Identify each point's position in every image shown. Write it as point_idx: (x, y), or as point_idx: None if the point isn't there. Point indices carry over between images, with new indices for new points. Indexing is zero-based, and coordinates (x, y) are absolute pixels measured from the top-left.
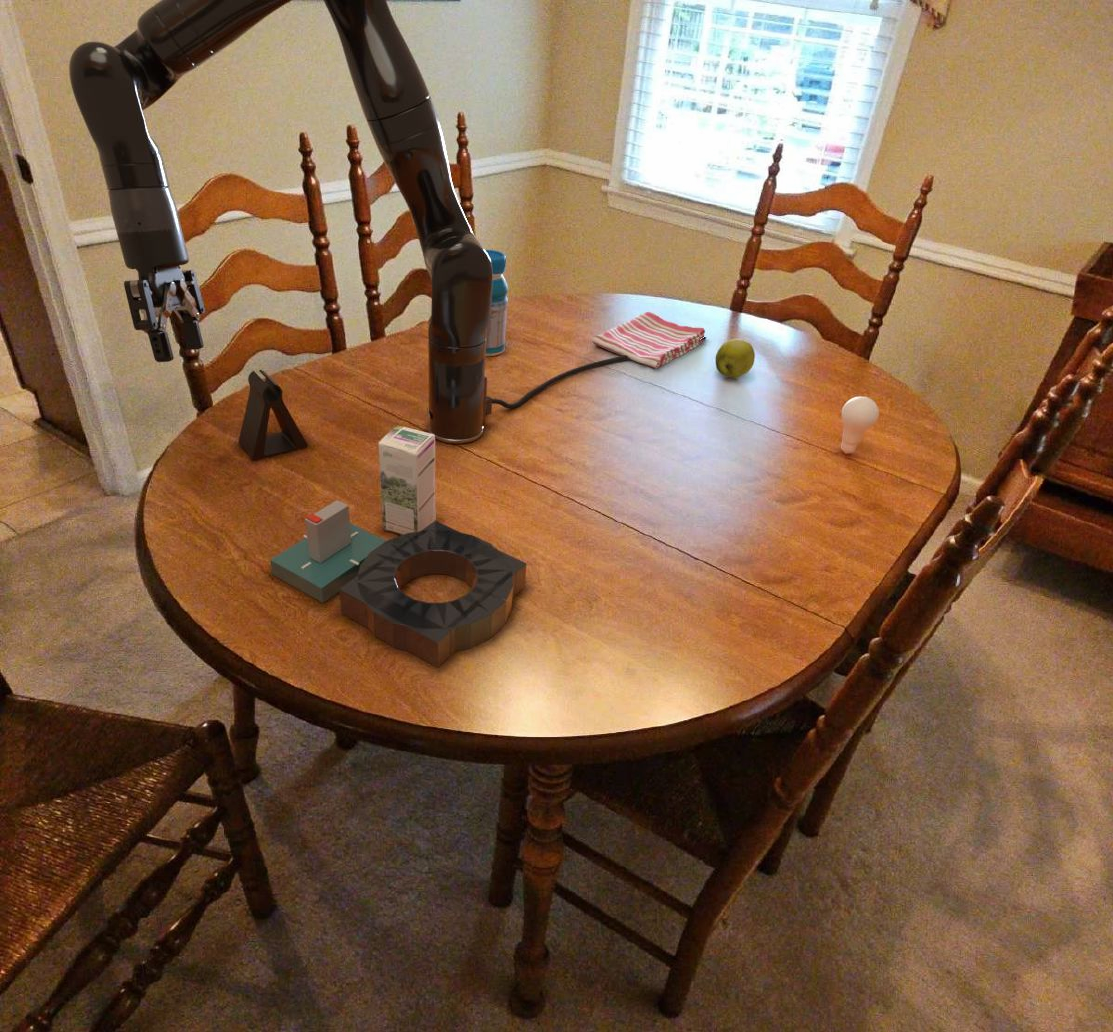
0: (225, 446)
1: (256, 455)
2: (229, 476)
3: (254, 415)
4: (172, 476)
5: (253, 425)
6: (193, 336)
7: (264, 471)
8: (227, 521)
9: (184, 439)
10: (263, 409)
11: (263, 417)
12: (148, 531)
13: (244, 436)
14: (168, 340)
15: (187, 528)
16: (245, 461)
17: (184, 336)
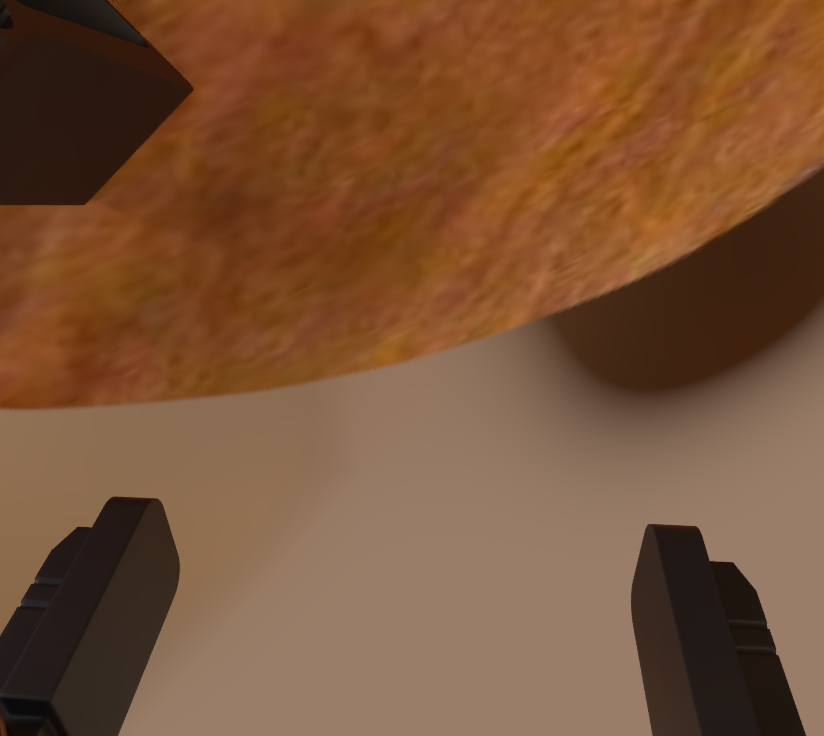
0: (121, 246)
1: (175, 74)
2: (329, 133)
3: (44, 121)
4: (377, 324)
5: (82, 117)
6: (125, 609)
7: (254, 3)
8: (627, 6)
9: (131, 402)
10: (55, 42)
11: (80, 41)
12: (691, 242)
13: (88, 171)
14: (702, 666)
15: (673, 131)
16: (203, 118)
17: (145, 662)
